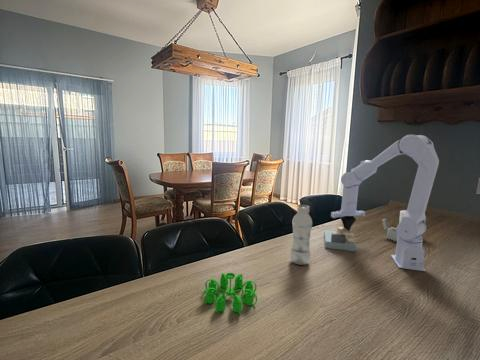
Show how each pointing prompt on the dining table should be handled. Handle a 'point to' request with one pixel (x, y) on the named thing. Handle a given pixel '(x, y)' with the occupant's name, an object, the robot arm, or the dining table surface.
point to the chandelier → (229, 292)
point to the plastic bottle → (301, 236)
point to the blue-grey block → (337, 241)
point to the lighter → (390, 231)
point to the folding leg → (346, 234)
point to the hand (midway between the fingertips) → (346, 233)
